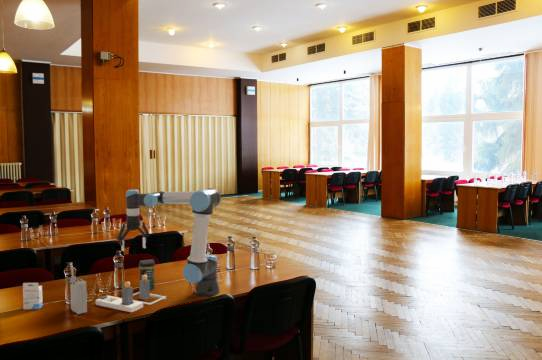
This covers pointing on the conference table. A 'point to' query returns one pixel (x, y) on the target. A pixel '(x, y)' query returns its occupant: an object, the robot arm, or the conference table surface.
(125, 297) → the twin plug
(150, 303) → the tray
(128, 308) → the strip
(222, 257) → the conference table surface
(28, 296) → the ink box
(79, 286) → the jerry can
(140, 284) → the grey bottle
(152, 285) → the coffee jar
